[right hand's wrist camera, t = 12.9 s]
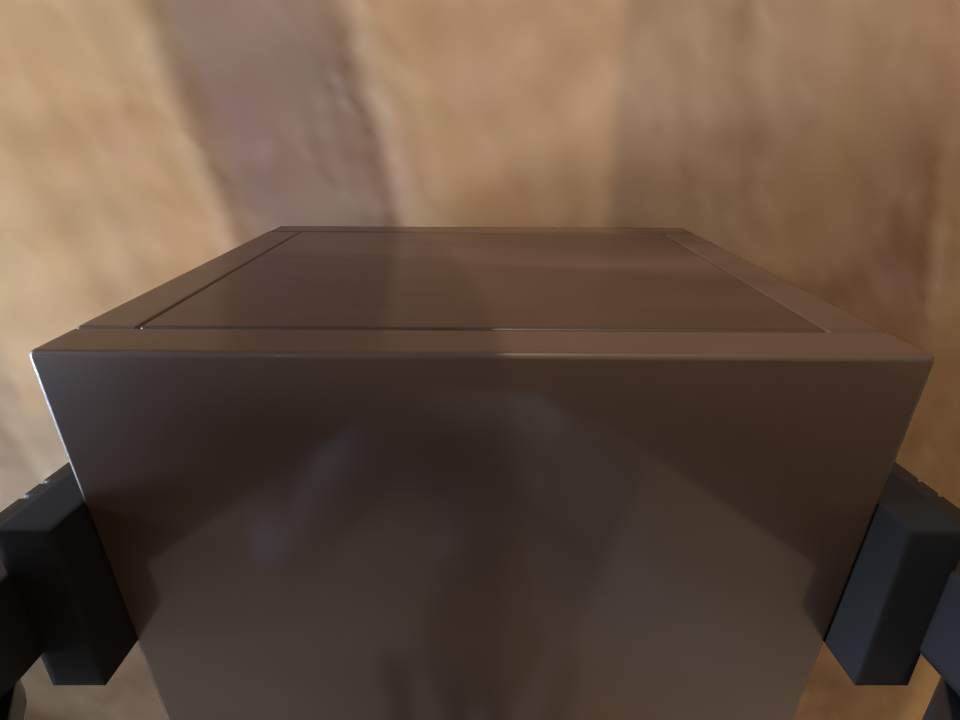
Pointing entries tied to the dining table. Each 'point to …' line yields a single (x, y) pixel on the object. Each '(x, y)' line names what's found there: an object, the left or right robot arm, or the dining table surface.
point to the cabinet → (480, 473)
